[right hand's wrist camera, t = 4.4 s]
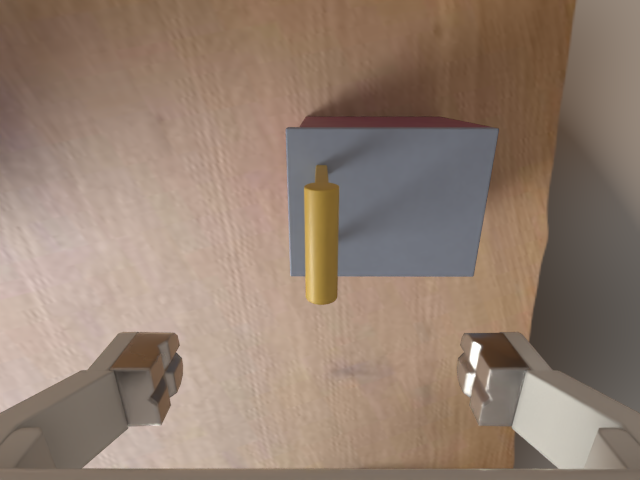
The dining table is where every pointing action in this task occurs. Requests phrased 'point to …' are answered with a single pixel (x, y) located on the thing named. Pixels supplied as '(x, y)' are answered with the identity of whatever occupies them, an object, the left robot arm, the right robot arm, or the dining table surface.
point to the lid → (385, 202)
